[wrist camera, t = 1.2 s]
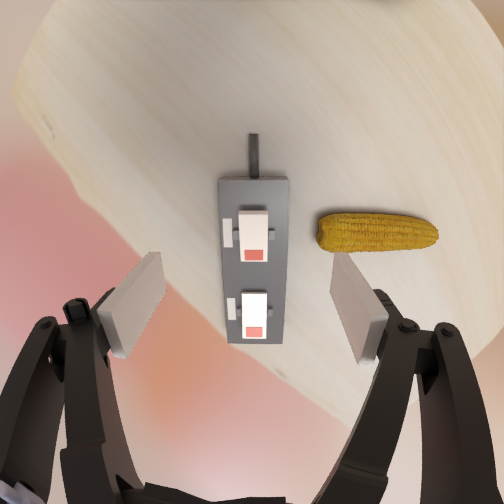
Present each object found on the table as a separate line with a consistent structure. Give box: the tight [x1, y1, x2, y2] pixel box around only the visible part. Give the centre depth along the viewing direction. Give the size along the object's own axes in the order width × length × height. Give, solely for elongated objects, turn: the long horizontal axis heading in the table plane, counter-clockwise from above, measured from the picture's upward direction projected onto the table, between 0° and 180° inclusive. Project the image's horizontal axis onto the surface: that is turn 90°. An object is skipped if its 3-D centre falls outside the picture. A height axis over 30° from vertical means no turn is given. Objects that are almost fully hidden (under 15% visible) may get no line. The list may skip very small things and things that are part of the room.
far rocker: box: [241, 292, 268, 339], centre depth 39 cm, size 7×4×1 cm, turn 0°
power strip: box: [218, 134, 290, 344], centre depth 39 cm, size 32×9×5 cm, turn 1°
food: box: [316, 213, 439, 253], centre depth 36 cm, size 21×6×6 cm, turn 93°
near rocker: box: [238, 211, 269, 262], centre depth 34 cm, size 7×4×1 cm, turn 1°
